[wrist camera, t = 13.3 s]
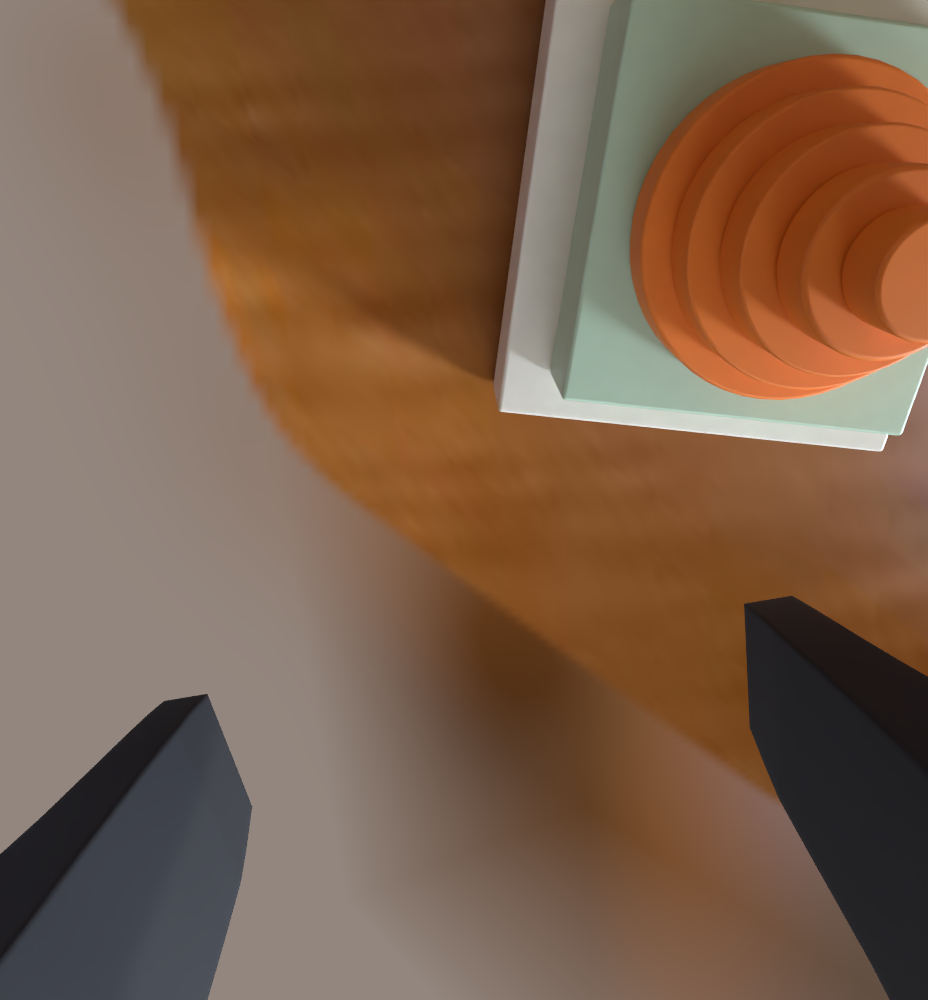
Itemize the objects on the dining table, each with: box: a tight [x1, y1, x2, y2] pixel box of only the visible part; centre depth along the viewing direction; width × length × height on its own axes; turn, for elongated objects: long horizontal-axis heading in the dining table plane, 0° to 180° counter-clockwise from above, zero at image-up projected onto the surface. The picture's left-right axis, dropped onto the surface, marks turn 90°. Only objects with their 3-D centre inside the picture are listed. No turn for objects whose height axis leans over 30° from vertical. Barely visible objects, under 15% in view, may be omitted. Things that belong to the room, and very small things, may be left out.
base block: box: [493, 0, 928, 451], centre depth 17 cm, size 9×9×2 cm
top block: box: [550, 0, 928, 435], centre depth 15 cm, size 7×7×2 cm
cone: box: [630, 54, 928, 400], centre depth 12 cm, size 6×6×5 cm
